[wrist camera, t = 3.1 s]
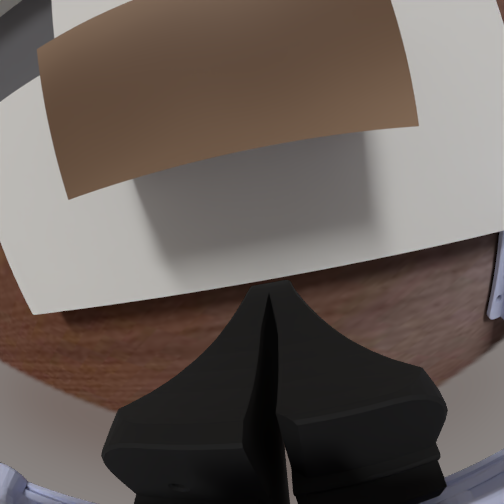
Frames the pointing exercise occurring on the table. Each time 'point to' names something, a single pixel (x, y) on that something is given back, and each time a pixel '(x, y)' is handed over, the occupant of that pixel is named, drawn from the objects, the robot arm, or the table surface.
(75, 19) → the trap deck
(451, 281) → the table surface
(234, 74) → the walnut bar
